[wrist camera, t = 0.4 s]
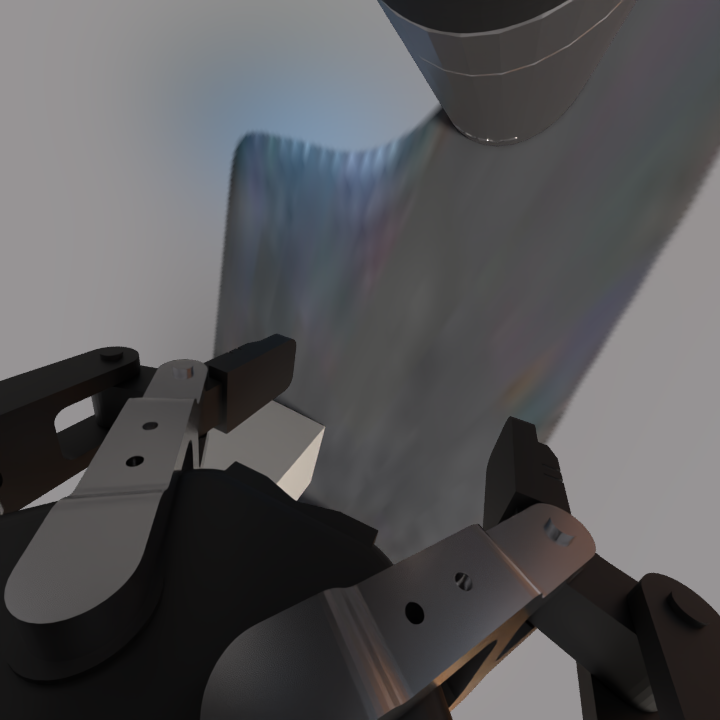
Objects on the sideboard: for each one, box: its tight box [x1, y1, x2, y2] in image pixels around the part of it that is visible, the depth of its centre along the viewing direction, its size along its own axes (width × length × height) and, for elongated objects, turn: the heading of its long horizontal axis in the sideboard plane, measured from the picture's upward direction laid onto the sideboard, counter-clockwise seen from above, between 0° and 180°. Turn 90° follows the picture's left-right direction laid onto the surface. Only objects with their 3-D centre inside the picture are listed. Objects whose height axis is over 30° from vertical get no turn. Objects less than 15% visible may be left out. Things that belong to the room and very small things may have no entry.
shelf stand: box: [203, 400, 325, 501], centre depth 28 cm, size 14×16×36 cm
